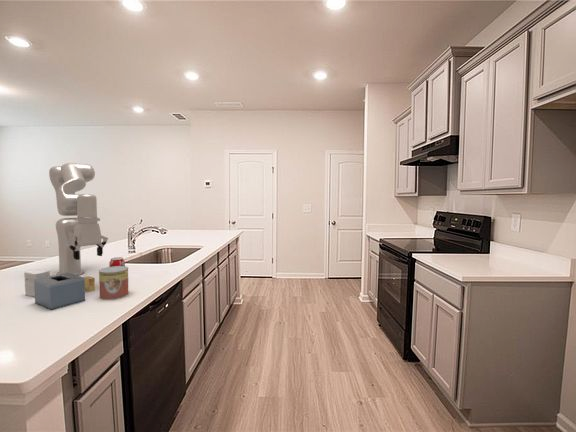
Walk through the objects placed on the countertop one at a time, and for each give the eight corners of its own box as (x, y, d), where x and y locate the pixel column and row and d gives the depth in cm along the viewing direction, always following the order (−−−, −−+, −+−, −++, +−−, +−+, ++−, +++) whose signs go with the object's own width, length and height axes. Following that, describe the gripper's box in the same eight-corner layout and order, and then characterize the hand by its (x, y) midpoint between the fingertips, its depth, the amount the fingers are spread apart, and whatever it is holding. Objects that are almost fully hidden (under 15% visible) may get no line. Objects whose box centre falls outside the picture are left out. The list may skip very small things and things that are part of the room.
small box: (51, 293, 129) (50, 270, 128) (36, 297, 123) (35, 274, 123) (39, 291, 131) (38, 269, 131) (25, 295, 126) (23, 272, 125)
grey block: (35, 302, 118) (34, 279, 117) (68, 294, 128) (67, 272, 127) (51, 310, 111) (50, 285, 110) (85, 300, 121) (84, 277, 121)
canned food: (97, 301, 121) (97, 273, 120) (101, 293, 131) (100, 267, 130) (128, 297, 126) (127, 270, 125) (129, 289, 136) (128, 265, 135)
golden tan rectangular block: (83, 289, 135) (83, 277, 134) (89, 288, 137) (88, 276, 137) (89, 291, 132) (89, 279, 132) (94, 290, 134) (94, 277, 134)
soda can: (118, 283, 145) (117, 260, 144) (106, 282, 146) (105, 259, 146) (128, 279, 152) (128, 257, 151) (117, 278, 153) (116, 256, 153)
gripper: (102, 219, 142) (103, 253, 143) (61, 222, 127) (63, 260, 128) (111, 220, 138) (112, 255, 139) (70, 222, 123) (71, 261, 124)
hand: (88, 257), depth 133 cm, fingers open, 9 cm apart
